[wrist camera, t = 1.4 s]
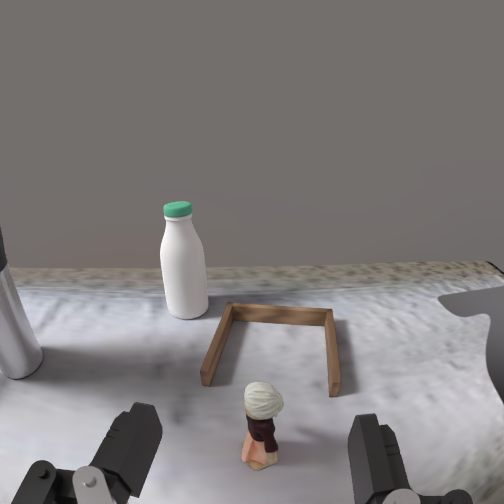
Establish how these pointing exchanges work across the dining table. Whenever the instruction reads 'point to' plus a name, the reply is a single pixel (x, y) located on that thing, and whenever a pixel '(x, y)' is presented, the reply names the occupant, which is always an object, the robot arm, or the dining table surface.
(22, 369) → the robot arm
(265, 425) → the grandmother figurine
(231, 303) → the box
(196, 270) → the milk bottle
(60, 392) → the dining table surface
